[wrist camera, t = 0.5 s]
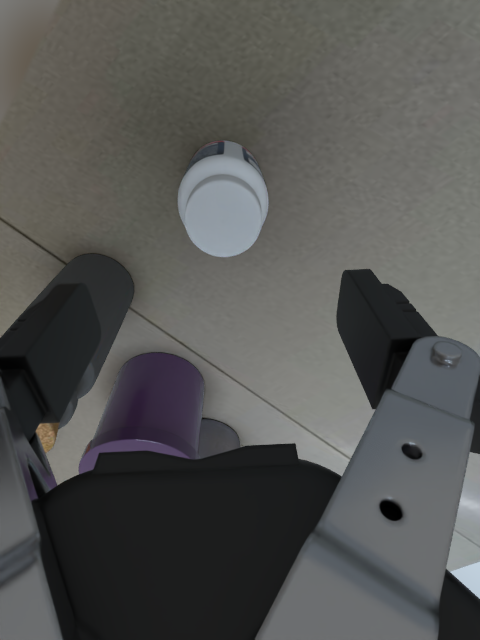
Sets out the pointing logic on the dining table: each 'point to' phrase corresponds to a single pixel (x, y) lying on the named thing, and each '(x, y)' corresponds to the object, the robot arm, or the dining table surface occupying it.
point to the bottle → (111, 306)
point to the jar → (151, 410)
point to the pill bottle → (223, 199)
